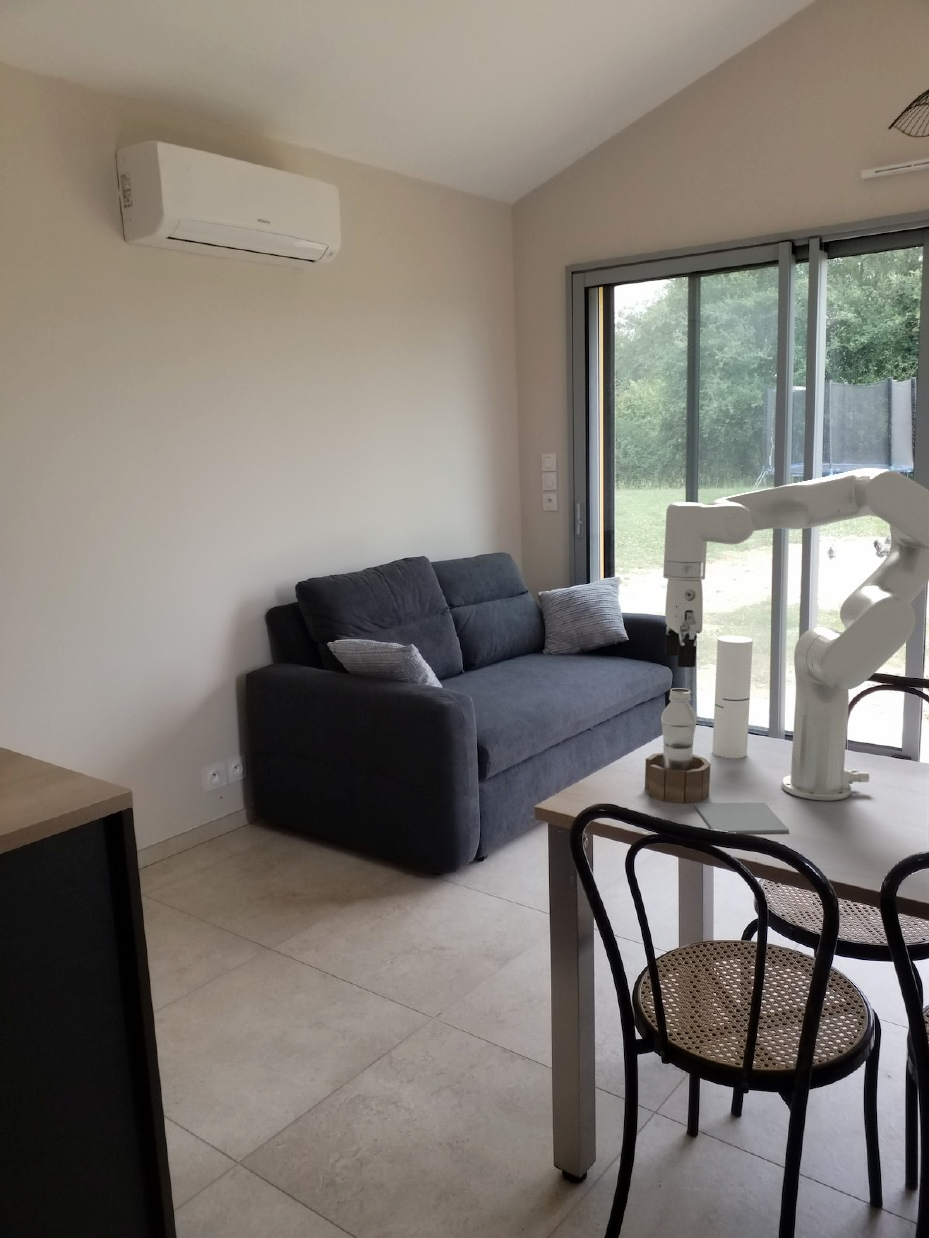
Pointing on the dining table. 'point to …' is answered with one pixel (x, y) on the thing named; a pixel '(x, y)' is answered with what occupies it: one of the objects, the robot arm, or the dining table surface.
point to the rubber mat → (741, 817)
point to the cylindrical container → (732, 696)
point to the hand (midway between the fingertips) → (679, 660)
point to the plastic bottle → (678, 731)
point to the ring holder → (677, 780)
